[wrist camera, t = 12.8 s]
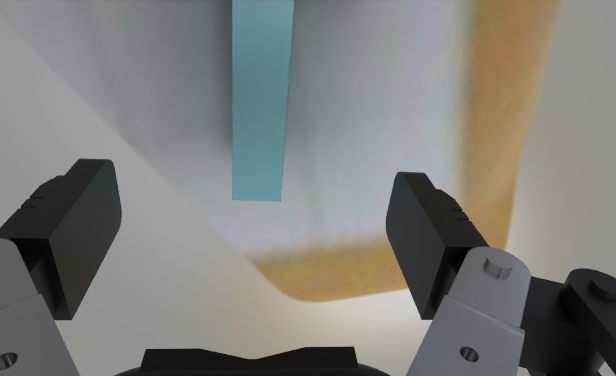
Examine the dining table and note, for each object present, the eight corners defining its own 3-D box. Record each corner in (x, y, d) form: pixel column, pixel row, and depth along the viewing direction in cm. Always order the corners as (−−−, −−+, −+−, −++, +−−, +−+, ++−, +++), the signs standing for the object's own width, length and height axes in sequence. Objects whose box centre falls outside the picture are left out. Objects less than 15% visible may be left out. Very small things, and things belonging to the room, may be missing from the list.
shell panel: (240, -117, 20) (232, -142, 14) (293, -111, 20) (303, -133, 15) (238, 151, 26) (232, 199, 21) (277, 152, 27) (280, 201, 21)
